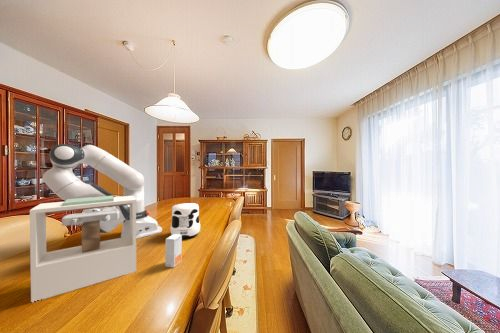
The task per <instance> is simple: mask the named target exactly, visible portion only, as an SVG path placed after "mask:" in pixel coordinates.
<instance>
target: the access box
mask: <svg viewBox="0 0 500 333" xmlns="http://www.w3.org/2000/svg"><path fill="white" fill-rule="evenodd" d="M121 205H130V236H128V237H122V238H121V237H118V238H112V239H107V240H102V241H100V249H99V250H94V251H89V252H85V253H82V245H78V246H73V247H67V248H62V249H61V248H60V249H57V250H52V251H47V221H46V220H47V215H48V214H57V213H65V212H74V211H82V210H83V211H84V210H85V209H94V208H103V207H112V206H121ZM29 249H30V250H29V252H30V255H29V256H30V258H29V259H30V303H31V302H32V303H35V302H34V301H36V302H38V301H37V300H39V301H42V300H46V299H48V298H53V297H55V296H58V295H59V296H60V295H62V294H65V293H69V292H72V291H75V290H78V289H82V288H86V287H89V286H92V285H96V284H99V283H102V282H105V281H109V280H112V279H116V278H119V277H122V276H125V275H130V274H133V273H136V272H137V239H136V199H135V198H134V197H133V196H124V195H123V196H115V197H113V196H101V197H99V196H95V197H89V198H76V199H67V200H66V201H65V200H64V201H56V202H45V203H43V202H42V203H39V204H38V205H35V206H34V207H32V208H31V209H30V210H29ZM41 299H42V300H41Z"/></svg>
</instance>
